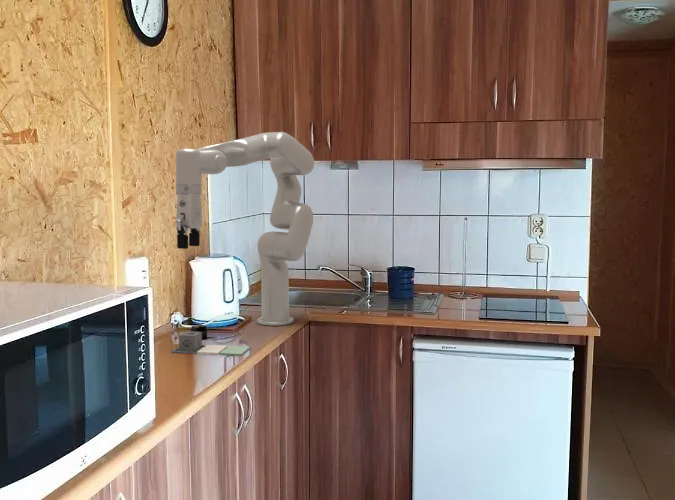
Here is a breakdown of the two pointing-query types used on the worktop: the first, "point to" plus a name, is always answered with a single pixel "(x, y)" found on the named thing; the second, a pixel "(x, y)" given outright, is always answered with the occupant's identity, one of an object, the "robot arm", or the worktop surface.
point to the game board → (218, 350)
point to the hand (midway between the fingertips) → (188, 247)
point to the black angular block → (201, 329)
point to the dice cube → (190, 341)
